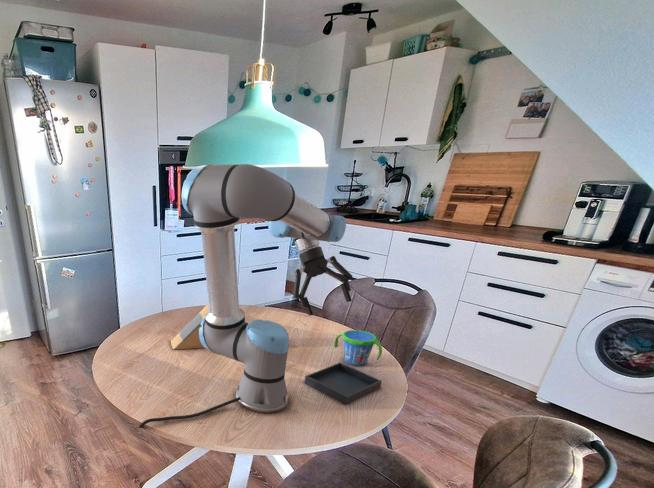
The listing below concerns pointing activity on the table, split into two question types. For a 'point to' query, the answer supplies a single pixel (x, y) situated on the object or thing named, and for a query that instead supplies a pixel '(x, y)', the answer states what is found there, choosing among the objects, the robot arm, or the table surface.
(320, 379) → the tray
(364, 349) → the snack cup
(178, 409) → the table surface
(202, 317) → the sandwich container
